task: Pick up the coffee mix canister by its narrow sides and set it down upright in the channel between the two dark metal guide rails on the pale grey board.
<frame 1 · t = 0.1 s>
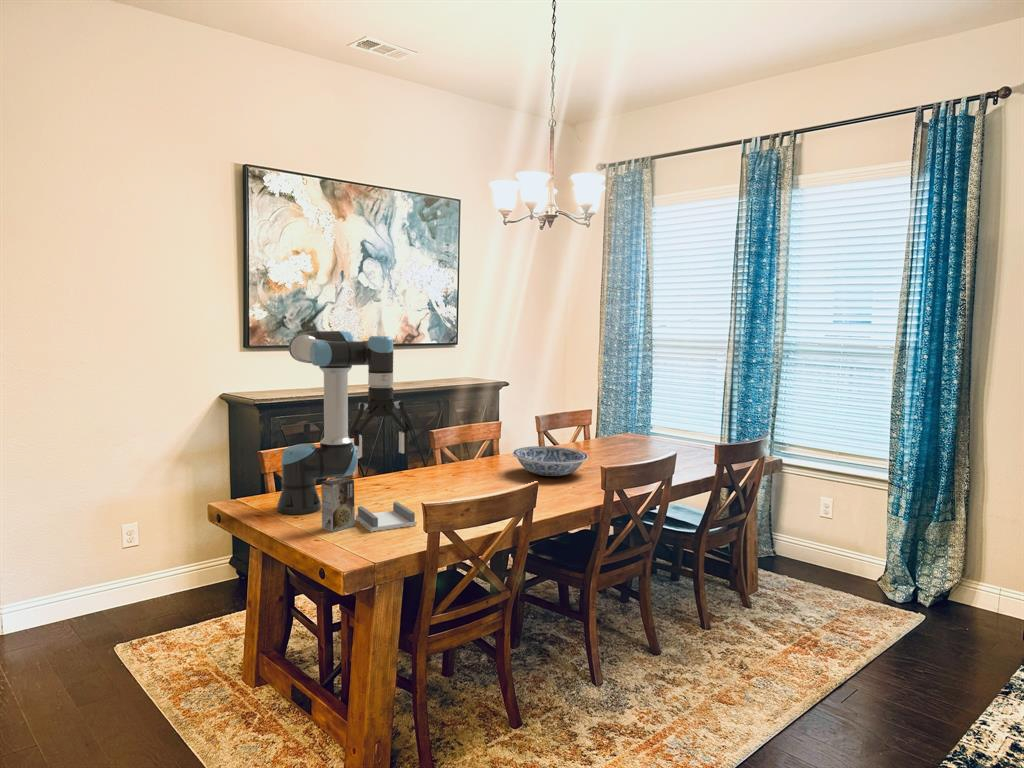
hand: (380, 454, 219), 28 cm above the table, tool pointing down, fingers open, 13 cm apart
guide cradle: (385, 522, 243), on the table
coffee box: (338, 528, 236), on the table
ceramic bowl: (549, 474, 321), on the table
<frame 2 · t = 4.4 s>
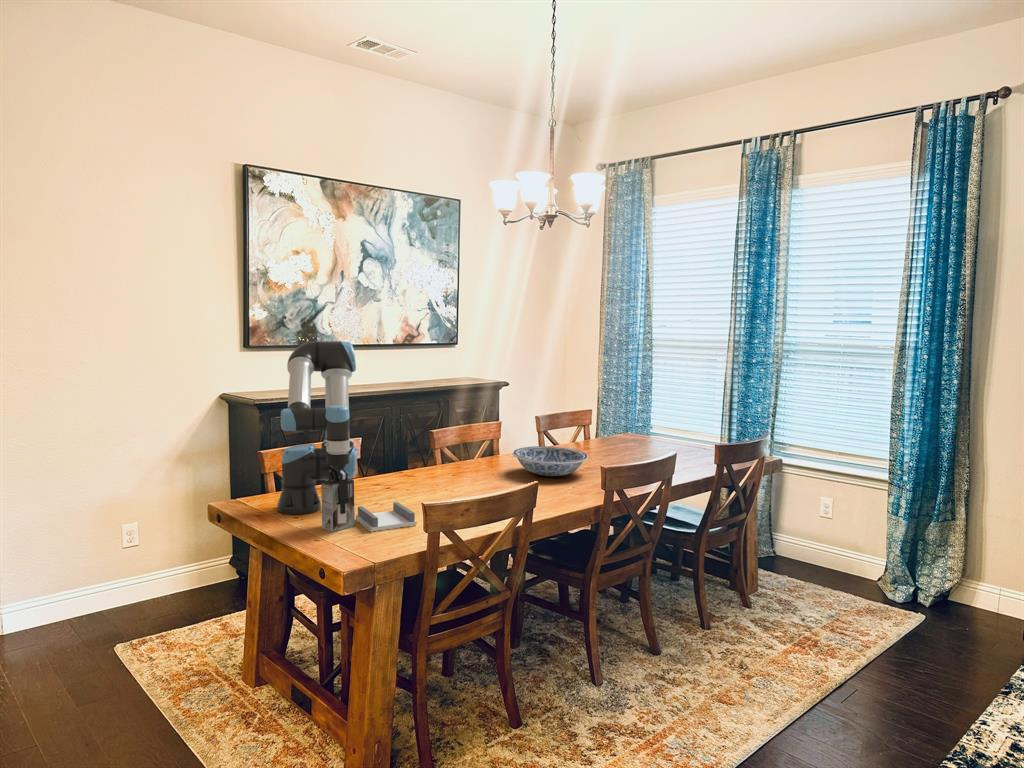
hand: (338, 519, 236), 3 cm above the table, tool pointing down, fingers closed on coffee box, 8 cm apart
coffee box: (338, 528, 236), on the table, touching gripper
everything else where it was.
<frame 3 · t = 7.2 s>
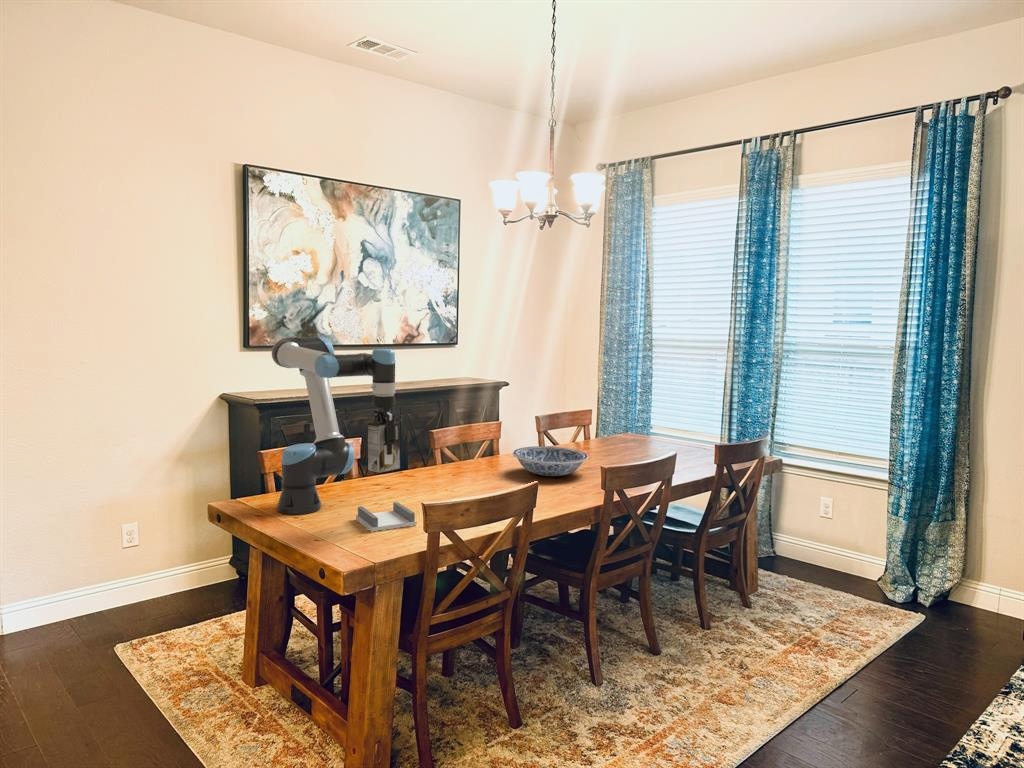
hand: (384, 461, 240), 21 cm above the table, tool pointing down, fingers closed on coffee box, 8 cm apart
coffee box: (383, 470, 240), point 18 cm above the table, touching gripper
everything else where it was.
when the fingers open (6 cm above the table, at t = 10.2 s): coffee box drops 1 cm, resting on guide cradle.
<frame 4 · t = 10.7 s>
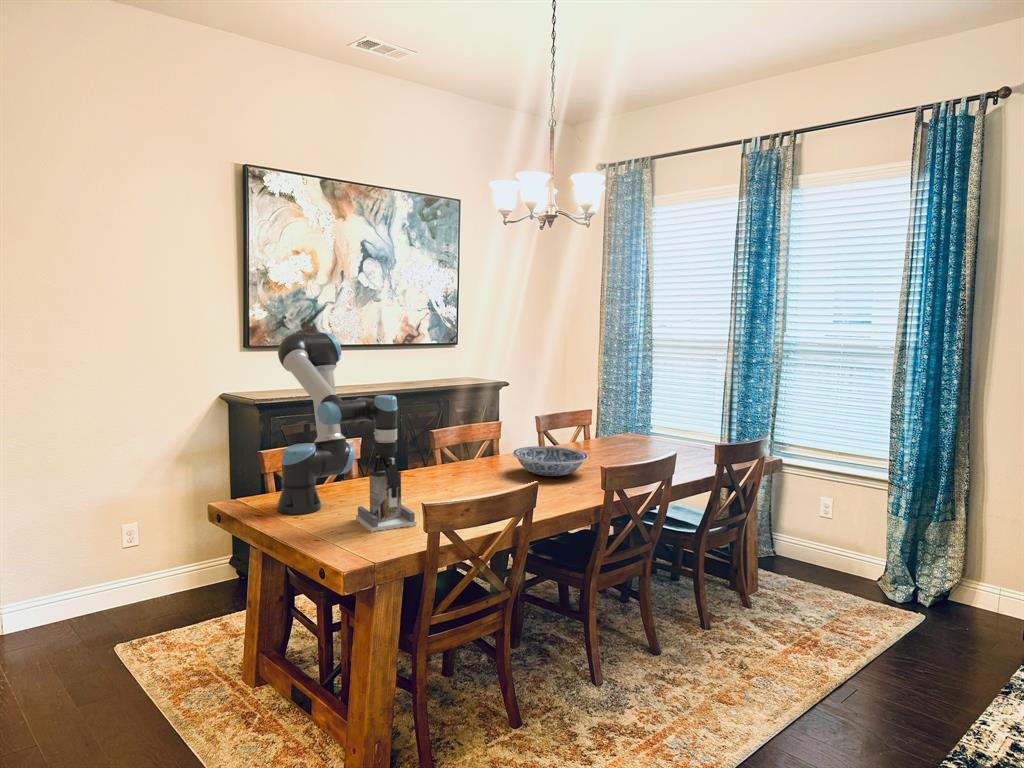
hand: (385, 502, 242), 7 cm above the table, tool pointing down, fingers open, 13 cm apart
coffee box: (385, 518, 243), point 1 cm above the table, touching guide cradle
everything else where it was.
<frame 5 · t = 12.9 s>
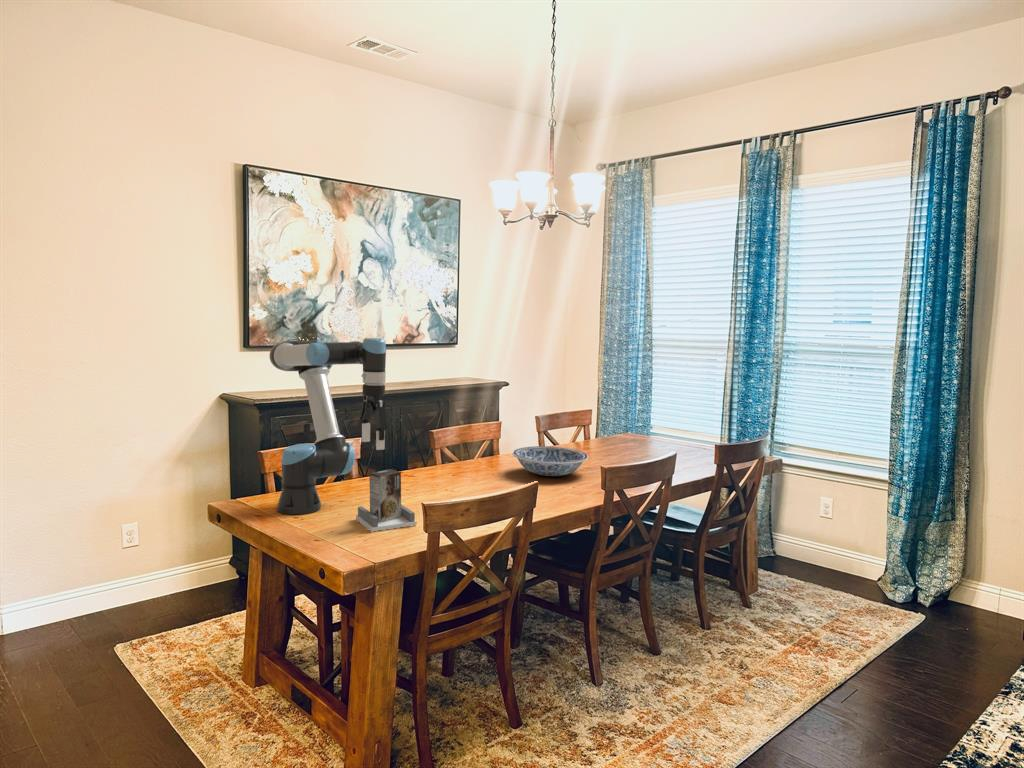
hand: (373, 445, 241), 26 cm above the table, tool pointing down, fingers open, 13 cm apart
nothing on the table moved.
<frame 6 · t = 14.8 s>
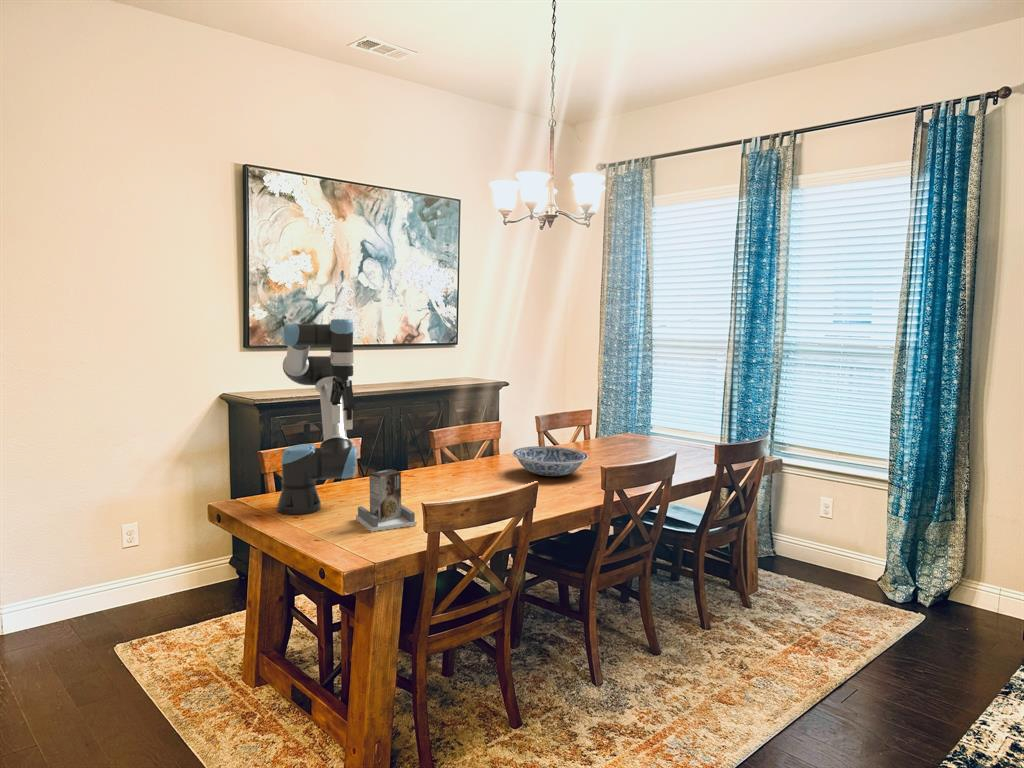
hand: (342, 426, 242), 33 cm above the table, tool pointing down, fingers open, 13 cm apart
nothing on the table moved.
at the end: coffee box 0.2 cm off-centre on the guide cradle, point 1.3 cm above the guide cradle's base; coffee box tilted 0°; the gripper is holding nothing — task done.
